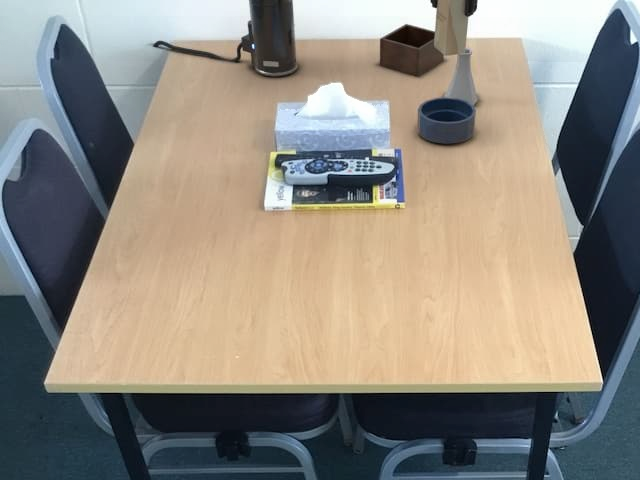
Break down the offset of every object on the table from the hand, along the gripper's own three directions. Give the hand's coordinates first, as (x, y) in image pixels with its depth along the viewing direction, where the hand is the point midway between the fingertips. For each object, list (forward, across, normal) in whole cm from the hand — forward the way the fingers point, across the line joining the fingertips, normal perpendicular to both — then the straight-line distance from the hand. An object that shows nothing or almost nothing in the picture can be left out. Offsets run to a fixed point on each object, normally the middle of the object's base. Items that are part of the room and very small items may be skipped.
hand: (452, 10), depth 154 cm
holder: (+23, +24, -24) cm, 41 cm away
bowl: (+22, 0, 0) cm, 22 cm away
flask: (+23, +5, -14) cm, 27 cm away
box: (+7, 0, 0) cm, 7 cm away
